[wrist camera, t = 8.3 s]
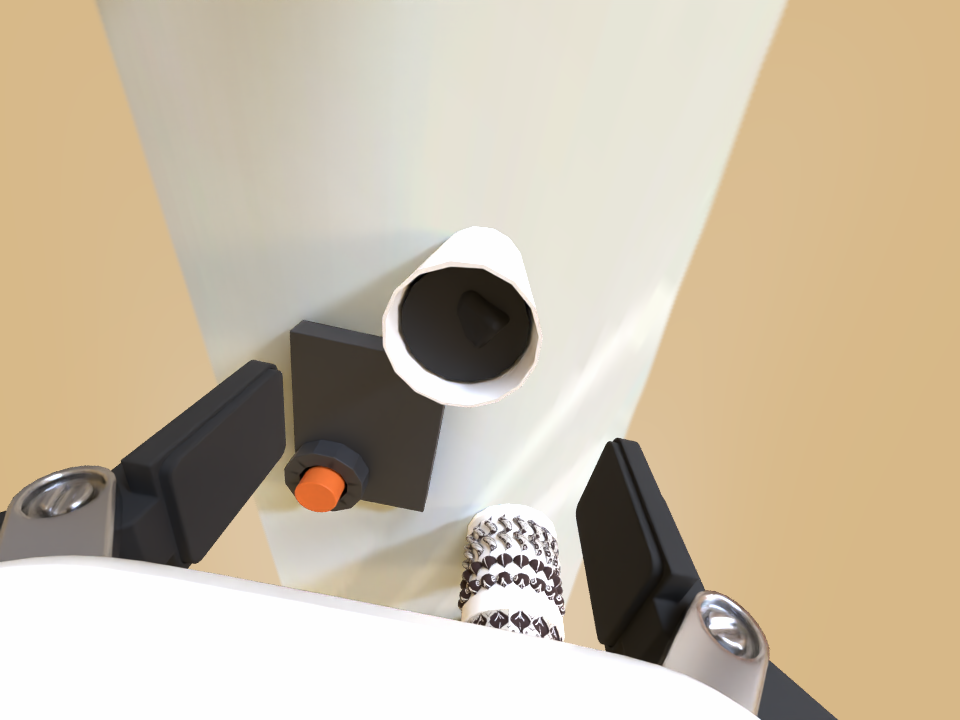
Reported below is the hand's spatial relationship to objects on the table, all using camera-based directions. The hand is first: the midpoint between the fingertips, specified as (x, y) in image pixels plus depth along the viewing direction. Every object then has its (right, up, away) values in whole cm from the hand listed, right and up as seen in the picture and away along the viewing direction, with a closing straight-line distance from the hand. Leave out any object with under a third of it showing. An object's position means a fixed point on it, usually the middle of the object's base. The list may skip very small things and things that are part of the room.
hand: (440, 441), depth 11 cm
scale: (-8, -2, +20) cm, 21 cm away
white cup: (+1, +8, +14) cm, 16 cm away
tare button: (-11, -7, +19) cm, 23 cm away
